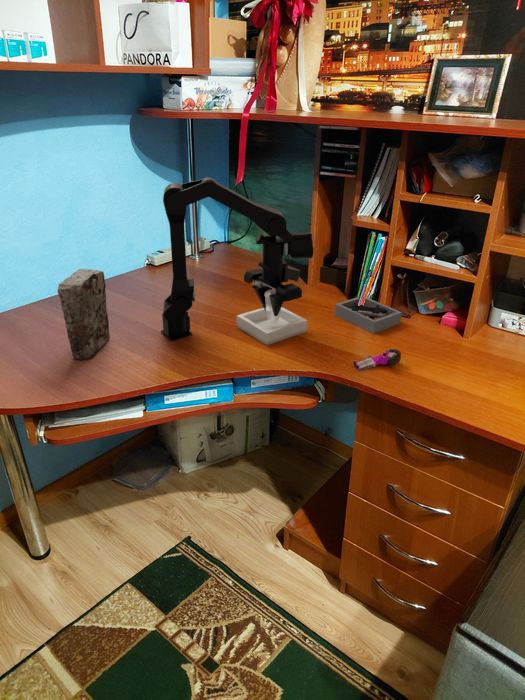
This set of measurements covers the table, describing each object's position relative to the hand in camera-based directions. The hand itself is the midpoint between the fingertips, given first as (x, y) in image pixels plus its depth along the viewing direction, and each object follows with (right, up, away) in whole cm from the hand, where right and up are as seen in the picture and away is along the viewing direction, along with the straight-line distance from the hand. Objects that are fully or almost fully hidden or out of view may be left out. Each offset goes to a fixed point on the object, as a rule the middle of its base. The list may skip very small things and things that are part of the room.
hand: (271, 313), depth 147 cm
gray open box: (+28, -1, +9) cm, 30 cm away
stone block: (-47, -10, -9) cm, 49 cm away
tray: (0, -4, +2) cm, 5 cm away
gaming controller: (+28, -1, +9) cm, 29 cm away
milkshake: (0, -3, +1) cm, 3 cm away
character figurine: (+26, -14, -15) cm, 33 cm away
